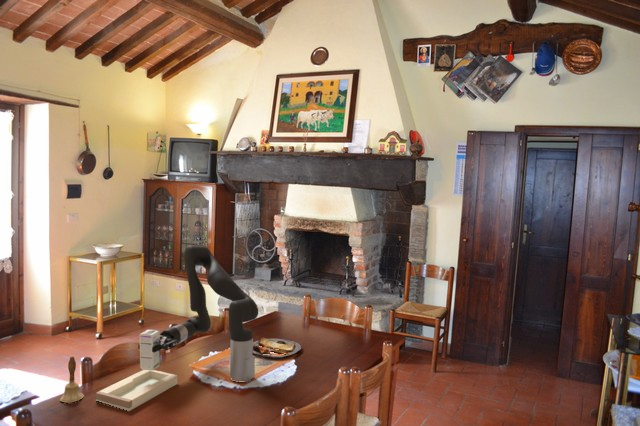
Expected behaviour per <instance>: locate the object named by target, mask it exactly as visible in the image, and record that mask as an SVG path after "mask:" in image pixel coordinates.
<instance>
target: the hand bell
mask: <svg viewBox="0 0 640 426" xmlns="http://www.w3.org/2000/svg"><path fill="white" fill-rule="evenodd" d="M67 366H68V372H69V382H68V383H66V385H65V387H64V392H63V394H62V396H61V397H60V398H59V402H60V401H62V402H74V401H77V400H80V399H82V398H83V397H84V398H85V395H84V394H83V393H82V392H81V390H80V386H79V383H78V382H75V380H76V379H75V371H76V368H77V367H76V366H77V363H76V360H75V357H74V356H70V358H69V361H68V364H67ZM84 398H83V399H84ZM83 399H82V400H83Z"/></svg>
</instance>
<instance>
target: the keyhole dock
mask: <svg viewBox="0 0 640 426" xmlns="http://www.w3.org/2000/svg"><path fill="white" fill-rule="evenodd" d="M176 385H178V375H177V374H174V373H169V372H165V371H160V370H156V369H154V370H153V371H152V370H143V369H141V370H140V371H138V372H135V373H134V374H131V375H130V376H128V377H126V378H124V379H122V380H120V381H117V382H115V383H114V384H111V385H109V386H107V387H105V388H102V389H101V390H99V391H97V392H95V402H96V401H99V402H102V403H106V404H109V405H111V406H110V407H112V406H114V407H113V408H116V407H117V408H116V409H119V408H120V410H123V409H124V411H126V410H127V412H130V411H132V410H134V409H135V408H137V407H139V406H141V405H142V404H144V403H146V402H148V401H150V400H152V399H153V398H155V397H157V396H158V395H160V394H162V393H164V392H165V391H167V390H169V389H171V388H172V387H174V386H176ZM109 405H108V406H109Z"/></svg>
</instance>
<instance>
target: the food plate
mask: <svg viewBox="0 0 640 426" xmlns="http://www.w3.org/2000/svg"><path fill="white" fill-rule="evenodd" d="M259 346H262V347H259ZM273 348H274V349H279V350H274V349H273ZM301 349H302V347H301V345H300V343H298V342H296V341H293V340H291V339H286V338H285V339H284V338H266V337H261V338H260V340H259V339H258V340H255V341H253V354H255V355H259V356H261V357H263V358H284V357H287V356H291V355H293V354H296V353H298V352H299V351H300V350H301ZM270 352H274V353H278V355H276V356H274V355H272V356H271V355H270V356H268V355H263V354H270ZM284 353H288V354H286V355H280V354H284Z"/></svg>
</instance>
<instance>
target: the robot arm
mask: <svg viewBox="0 0 640 426" xmlns="http://www.w3.org/2000/svg"><path fill="white" fill-rule="evenodd" d="M183 260H184V266H185V271H186V272H185V273H186V278H187V283H188V289H189V290H188V291H189V306H190V307H189V308H190V311H192V312H195V313H197V316H194V317H191V318H188V319H186V320H185V321H184V322H182V323H180V324H176V325H174V326H170V327H168V328H167V329H165V330H162V332H160V344H158V345H156V346H154V347H152V352H153V353H155V352H157V351H159V350H160V351H163V350H164V351H169V350H171V349H174V348H176V347H177V345H179V344H181V343H182V342H184V341H186V340H187V339H190V338H191V337H193V336H194V335H195V334H199V333H206V332H209V330H210V328H211V324H212V321H211V317H210V314H209V311H208V308H207V307H208V306H207V296H206V290H205V287H204V285H203V283H202V282H201V280H200V279H199V276H198V274H197V270H196V269H197V268H196V267H197V266H198V267H200V266H201V267H204V269H206V271H207V274H206V275H207V276H206V280H207V281H206V282H207V284H208V286H209V287H210V288H211V289H212V290H213V292H214V293H215V294H217V295H219V296H220V297H222V298H224V299H227V300H229V301H231V302H230V303H229V306H228V329H229V330H228V331H229V335H230V336H229V337H230V341H229V343H230V345H229V346H230V348H229V349H230V350H229V351H230V354H229V355H230V362H229V363H230V368H229V371H230V372H229V374H230V375H229V378H230V377H231V378H232V380H235V381H238V382H239V381H245V382H246V384H248V383H249V382H251V381H252V380H253V379H254V378H253V377H254V376H255V371H256V370H255V368H256V365H255V364H256V356H255V355H254V353H253V342H254V333H253V330H252V329H250V328H248V327H247V328H246V327H244V323H247V322H250V321H253V320H255V319H257V318H258V316H259V308H258V305H257V304H256V302H255V300H254V299H253V298H252V297H251V296H249V294H247V293H246V291H244V290H243V289H242V288H241V287H240V286H239V285H238V284H237V283H236V282H235V281H234V280H233V279H232V277H231V276H230V275H229V274H228V272H226V270H225V269H224V268H223V266H221V264H220V263H219V262H218V261H217V259H216V258H215V256H214V255H213V253H212V252H211V250H210V248H208V247H207V246H203V245H188V246H187V247H185V249H184V252H183ZM137 349H138V350H140V343H138V347H137ZM252 378H253V379H252ZM251 379H252V380H251Z"/></svg>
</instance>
